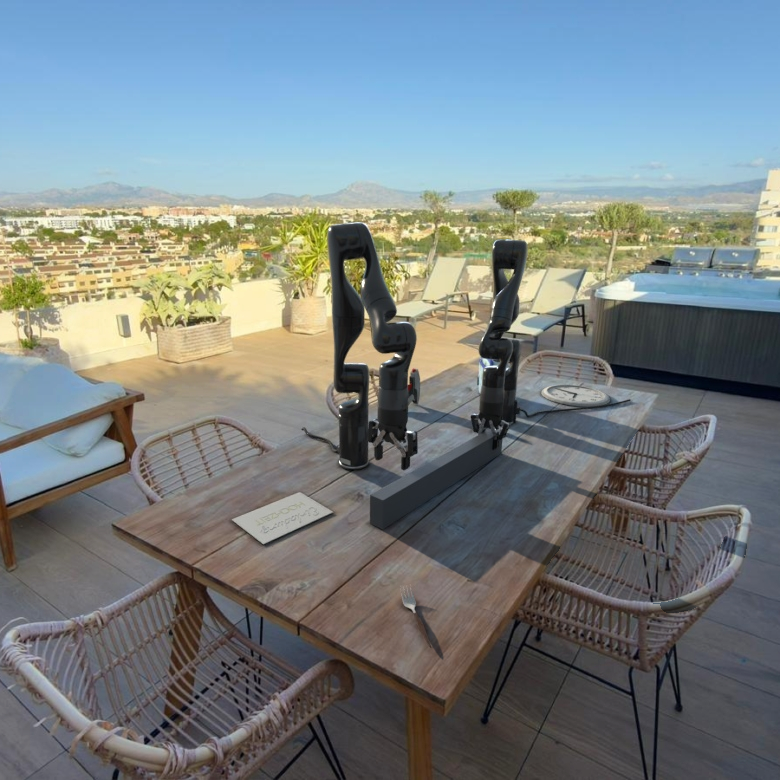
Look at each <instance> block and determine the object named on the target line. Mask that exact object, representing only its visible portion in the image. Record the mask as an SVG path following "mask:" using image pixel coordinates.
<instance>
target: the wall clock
mask: <svg viewBox="0 0 780 780" xmlns="http://www.w3.org/2000/svg"><path fill="white" fill-rule="evenodd" d="M541 395H542V396H543V398H545V399H547V400H549V401H551V402H553V403H557V404H560V405H567V406H571V407H578V408H583V407H593V406H600V405H607V404H610V402H611V398H610V396H609V395H608V394H606V393H605V392H603V391H602V390H598V389H595V388H593V387H588V386H585V385H584V386H583V385H576V384H555V385H550V386H547V387H545V388H544V389H542V390H541Z"/></svg>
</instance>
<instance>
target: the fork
mask: <svg viewBox="0 0 780 780" xmlns="http://www.w3.org/2000/svg"><path fill="white" fill-rule="evenodd" d="M402 587H403V590H402ZM399 588H400V594H401V599H402V604H403V606H404V607H405V608H407V609H410V610H411V611H412V613H413V617H414V619H415V623H416V625H417V628H418V630H419V632H420V633H421V635H422V636H423V638H424V640H425V643H427V645H428V647H429V648H430V649H431V648H432V646H431V643H430V640H429V636H428V633H427V630H426V627H425V624H424V623H423V621H422V619H421V618H420V616H419V615H418V613H417V612H416V609H415V608H416V606H417V601H416V599H415V595H414V592H413V589H412V586H411V584H409V587H408V586H406V589H407V590H406V589H405V585H403V586H401V585H399ZM409 588H410V591H409ZM406 591H407V592H406ZM403 592H404V594H403Z"/></svg>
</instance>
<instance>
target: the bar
mask: <svg viewBox="0 0 780 780" xmlns="http://www.w3.org/2000/svg"><path fill="white" fill-rule="evenodd" d="M501 430H502V429H500V433H501ZM493 439H494V438H493V433H492V432H491V429H489V428H487V429H486V430H485V432H483V433H481V434H479V435H478V434H477V435H476V436H474V437H473V438H471V439H469V440H466V441H465V442H463V443H461V444H460V445H458V446H455V447H454V448H452V449H451V450H449V451H447V452H445V453H443V454H442V455H440V456H438V457H436V458H434V459H432V460H431V461H428V462H426V463H425V464H423V465H421V466H420V467H418V468H416V469H414V470H412V471H410V472H408V473H407V474H405V475H404V476H402V477H400V478H398V479H396V480H394V481H392V482H390V483H388V484H387V485H385V486H384V487H381V488H380V489H377V490H376V491H374V492H372V493H371V494H369V524H370V525H372V526H374V527H376V528H378V529H380V530H385V529H386V528H388V527H389V526H391V525H392V524H394V523H395V522H397V521H398V520H400V519H402V518H403V517H405V516H406V515H408V514H409V513H411V512H412V511H414V510H416V509H417V508H419V507H420V506H422V505H423V504H425V503H427V502H428V501H430V500H431V499H433V498H434V497H436V496H437V495H439V494H440V493H442V492H444V491H445V490H447V489H448V488H450V487H451V486H453V485H454V484H456V483H457V482H459V481H461V480H463V478H465V477H467V476H468V475H470V474H472V473H473V472H475V471H476V470H478V469H479V468H481V467H483V466H484V465H486V464H487V463H488V462H490V461H492V460H493V459H495V458H496V457H499V456H500V455H501V454H502V450H503V439H504V438H503V439H502V440H500V439H499V447H498V448H497V449H496V450H492V446H493Z"/></svg>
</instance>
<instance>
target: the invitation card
mask: <svg viewBox="0 0 780 780" xmlns="http://www.w3.org/2000/svg"><path fill="white" fill-rule="evenodd" d="M333 513H334V511H332V510H331V509H329V508H328V507H326V506H324V505H323V504H320V503H319V502H318V501H316V500H314V499H312V498H311V497H309V496H308V495H306V494H304V493H302V492H301V491H299V492H295V493H293V494H291V495H287V496H286V497H284V498H281V499H279V500H276V501H274V502H271V503H269V504H266V505H264V506H261V507H259V508H256V509H254V510H252V511H249V512H246V513H243V514H242V515H239V516H237V517H236V516H235V517H234V518H232V519H231V521H232V522H233V523H235V524H236V525H237V526H239V527H240V528H241V529H242V530H243V531H245V532H246V533H248V534H249V535H250V536H251V537H253V538H254V539H255V540H257V541H258V542H259V543H261V544H262V545H265V544H268V543H271V542H273V541H274V540H276V539H278V538H279V539H280V538H281V537H283V536H285V535H287V534H290V533H292V532H294V531H296V530H298V529H300V528H303V527H306V526H307V525H309V524H311V523H313V522H316V521H318V520H320V519H323V518H325V517H327V516H329V515H332V514H333Z"/></svg>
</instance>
